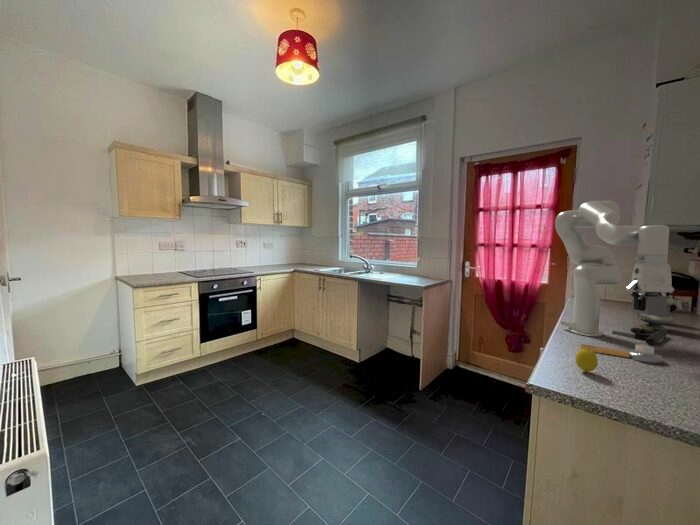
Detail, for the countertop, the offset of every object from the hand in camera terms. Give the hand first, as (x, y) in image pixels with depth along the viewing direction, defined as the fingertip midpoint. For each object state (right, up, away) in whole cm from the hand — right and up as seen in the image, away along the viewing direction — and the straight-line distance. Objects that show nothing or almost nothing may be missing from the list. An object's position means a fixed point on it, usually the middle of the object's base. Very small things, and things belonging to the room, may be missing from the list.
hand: (648, 309), depth 105 cm
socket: (0, -1, 0) cm, 1 cm away
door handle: (+22, -17, +25) cm, 37 cm away
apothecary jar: (+41, -15, +37) cm, 57 cm away
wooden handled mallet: (-6, -18, +5) cm, 19 cm away
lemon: (-30, -19, -10) cm, 37 cm away
